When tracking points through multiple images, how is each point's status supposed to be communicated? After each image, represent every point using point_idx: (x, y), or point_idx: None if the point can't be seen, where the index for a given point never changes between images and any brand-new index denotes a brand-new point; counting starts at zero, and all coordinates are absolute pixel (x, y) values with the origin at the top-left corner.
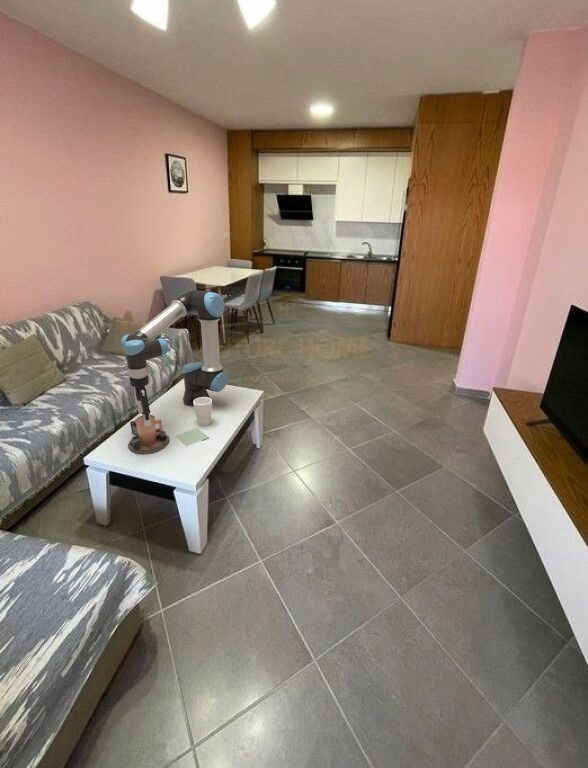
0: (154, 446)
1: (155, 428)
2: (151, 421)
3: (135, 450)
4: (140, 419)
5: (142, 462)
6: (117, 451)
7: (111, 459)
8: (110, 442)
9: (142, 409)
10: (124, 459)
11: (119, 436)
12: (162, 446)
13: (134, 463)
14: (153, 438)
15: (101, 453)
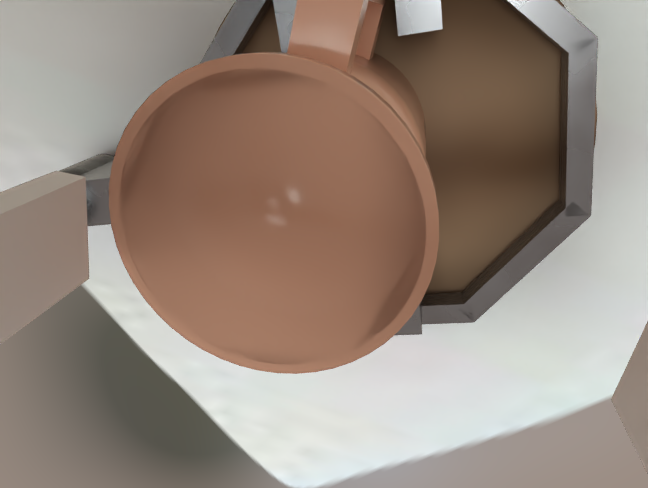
0: (475, 129)
1: (370, 74)
2: (425, 181)
3: (465, 315)
4: (234, 290)
5: (625, 304)
6: (319, 372)
7: (399, 435)
8: (163, 360)
9: (32, 245)
10: (466, 380)
11: (106, 285)
12: (595, 78)
13: (584, 352)
14: (422, 121)
15: (278, 447)
